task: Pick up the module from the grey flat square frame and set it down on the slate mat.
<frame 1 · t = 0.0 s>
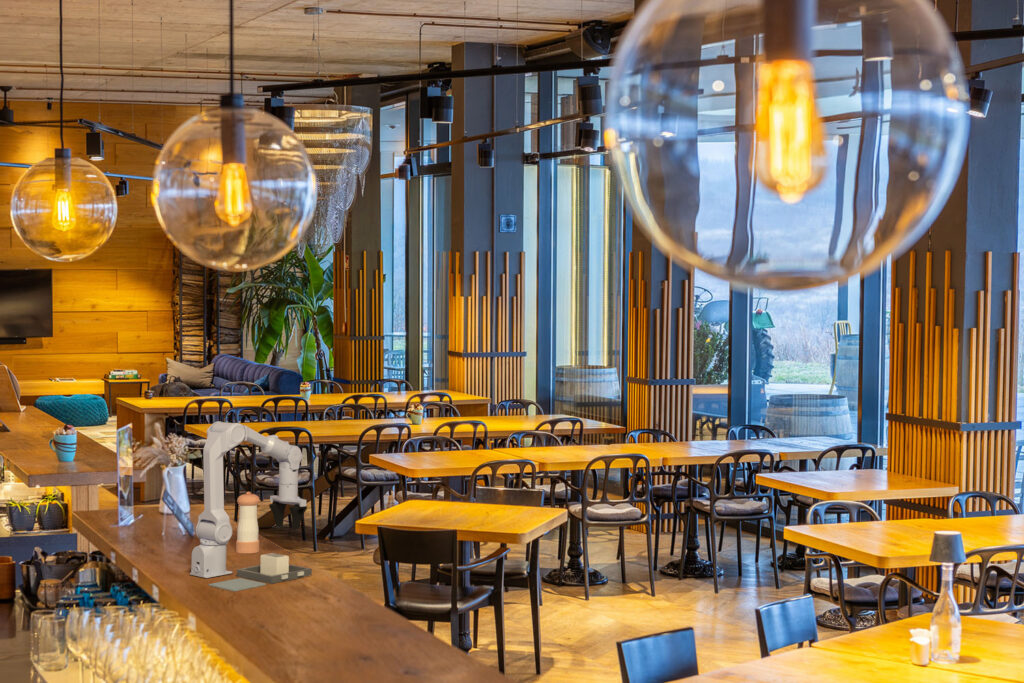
hand: (287, 527, 352), 10 cm above the table, fingers open, 7 cm apart
slate mat: (237, 585, 316), on the table
module: (274, 576, 329), resting in grey flat square frame
salt shaker: (247, 552, 365), on the table
grey flat square frame: (274, 575, 329), on the table
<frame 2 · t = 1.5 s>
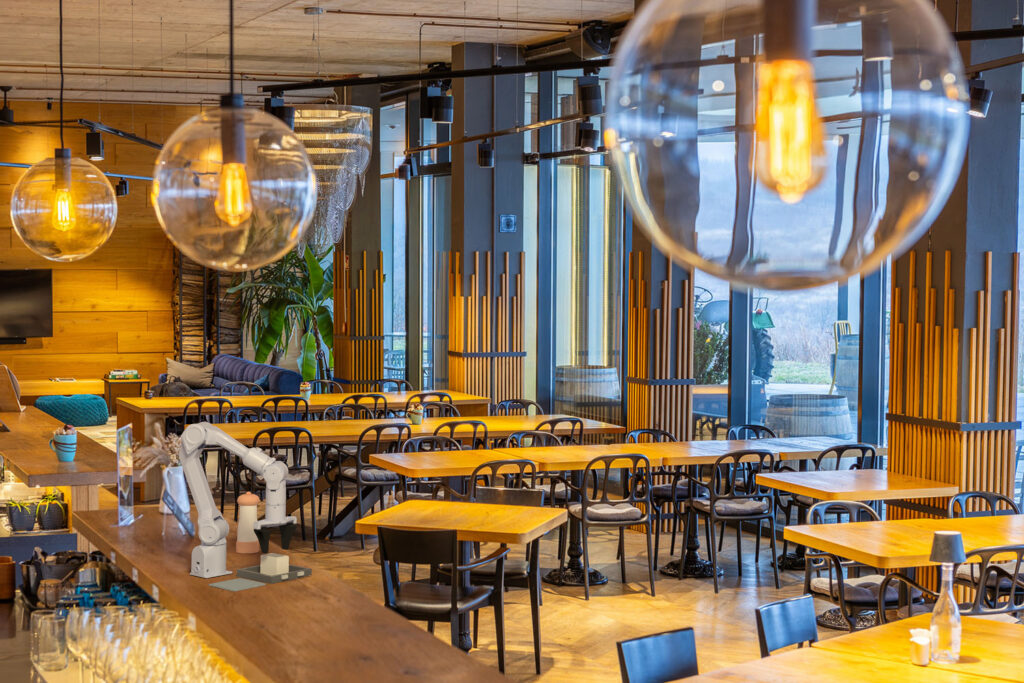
hand: (275, 551, 329), 7 cm above the table, fingers open, 7 cm apart
nothing on the table moved.
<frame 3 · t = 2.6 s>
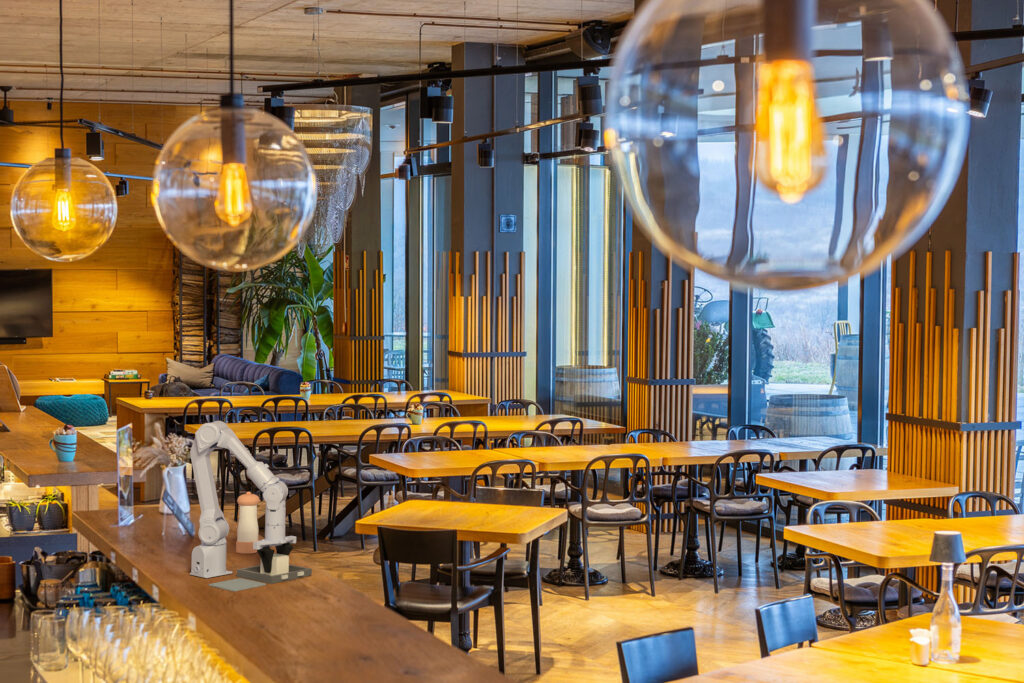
hand: (274, 571, 329), 1 cm above the table, fingers closed on module, 4 cm apart
module: (274, 576, 329), resting in grey flat square frame, touching gripper
everything else where it was.
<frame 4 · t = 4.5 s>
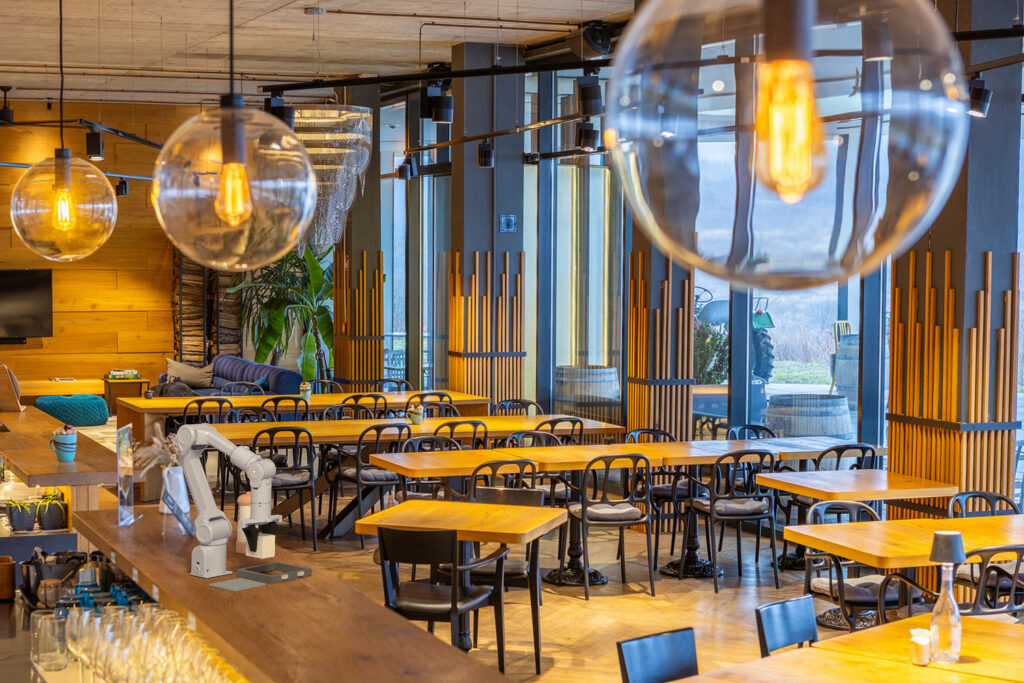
hand: (259, 550, 324), 8 cm above the table, fingers closed on module, 4 cm apart
module: (260, 555, 324), point 7 cm above the table, touching gripper
everything else where it was.
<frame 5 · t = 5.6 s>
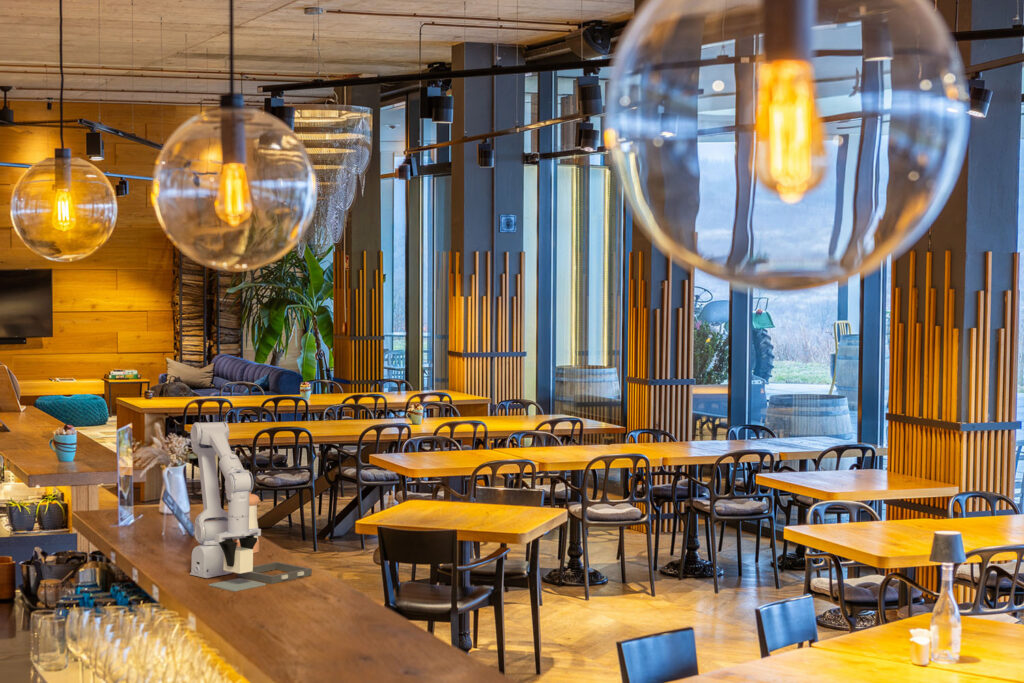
hand: (237, 564, 316), 6 cm above the table, fingers closed on module, 4 cm apart
module: (238, 570, 316), point 4 cm above the table, touching gripper
everything else where it was.
when the fingers open (3 cm above the table, at t = 6.5 s): module stays where it is, resting on slate mat.
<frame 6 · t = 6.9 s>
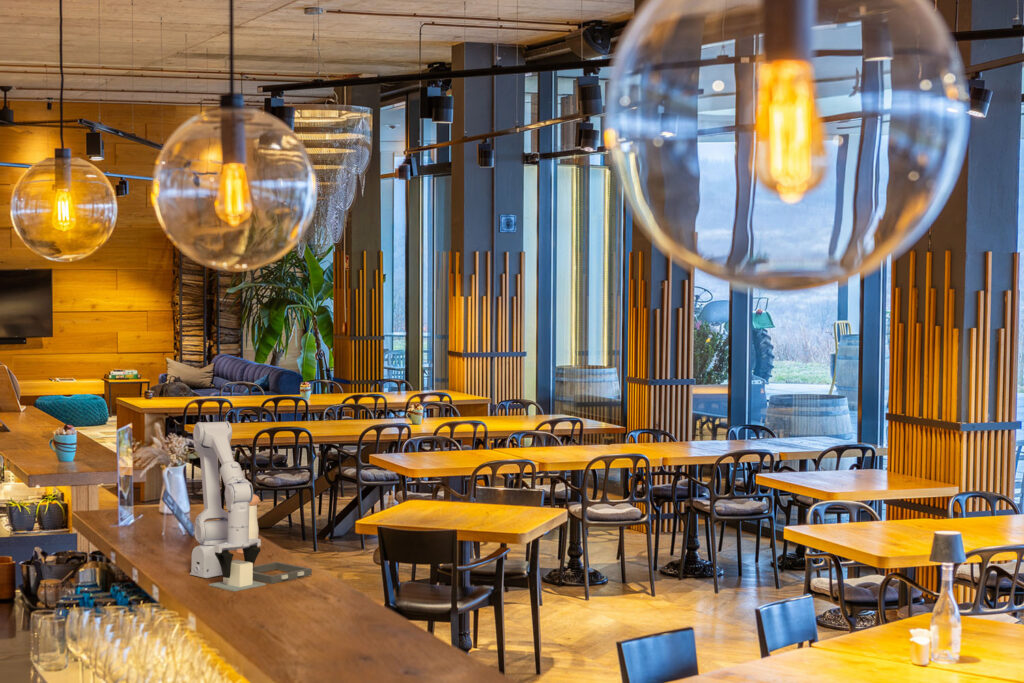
hand: (237, 575, 316), 3 cm above the table, fingers open, 7 cm apart
module: (237, 583, 316), resting on slate mat
everything else where it was.
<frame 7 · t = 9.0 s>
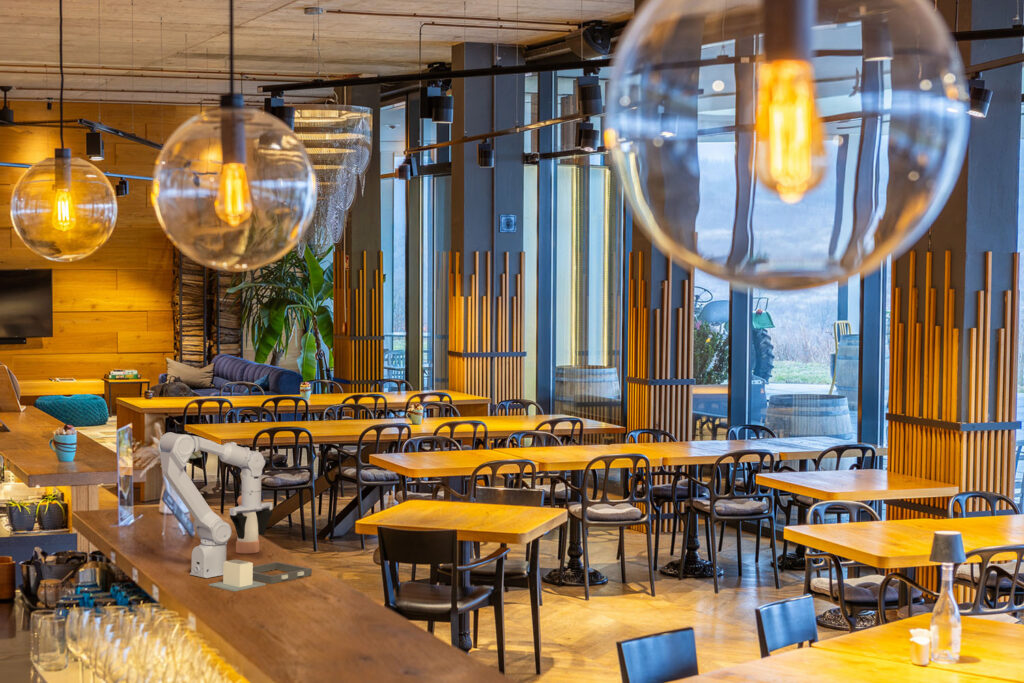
hand: (251, 536, 339), 9 cm above the table, fingers open, 7 cm apart
nothing on the table moved.
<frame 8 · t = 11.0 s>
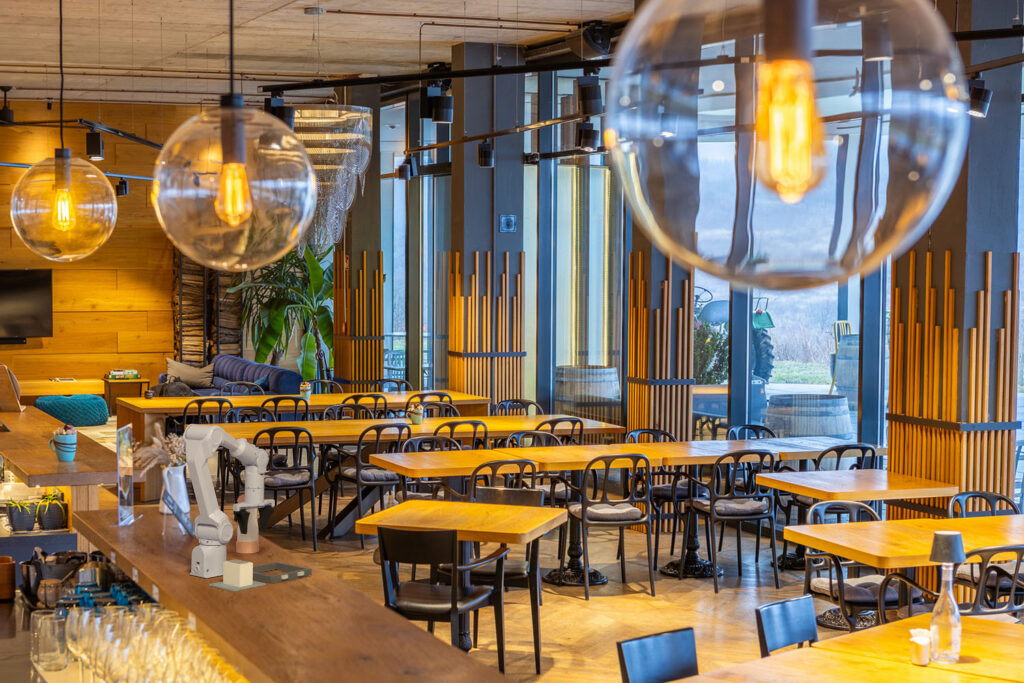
hand: (253, 532, 347), 9 cm above the table, fingers open, 7 cm apart
nothing on the table moved.
at the end: module inside the target area on the slate mat (0.1 cm from its centre), point 0.4 cm above the slate mat's base; module tilted 0°; the gripper is holding nothing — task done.
